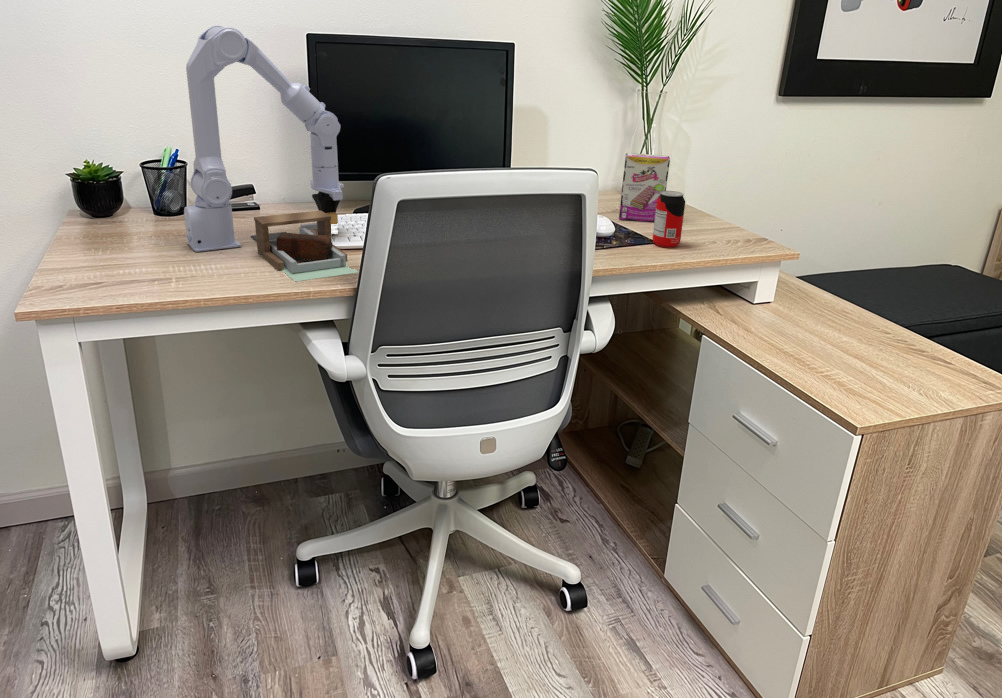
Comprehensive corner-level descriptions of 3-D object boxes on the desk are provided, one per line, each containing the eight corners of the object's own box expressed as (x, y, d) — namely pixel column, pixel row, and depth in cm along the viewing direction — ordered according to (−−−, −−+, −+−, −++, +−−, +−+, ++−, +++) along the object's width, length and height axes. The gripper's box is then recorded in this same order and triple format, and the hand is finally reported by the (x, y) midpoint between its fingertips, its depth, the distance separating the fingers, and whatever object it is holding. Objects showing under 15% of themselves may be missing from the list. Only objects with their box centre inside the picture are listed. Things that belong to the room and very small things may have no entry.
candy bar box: (618, 220, 200) (624, 155, 193) (618, 216, 204) (624, 152, 198) (662, 223, 199) (670, 158, 192) (662, 218, 203) (669, 154, 197)
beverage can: (682, 248, 177) (689, 196, 172) (655, 248, 177) (661, 195, 172) (675, 241, 183) (682, 190, 178) (649, 240, 183) (654, 189, 178)
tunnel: (278, 270, 153) (274, 233, 150) (257, 252, 164) (253, 217, 161) (347, 261, 160) (345, 225, 157) (322, 244, 171) (320, 210, 168)
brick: (277, 259, 158) (275, 237, 156) (281, 254, 161) (280, 232, 160) (330, 262, 158) (329, 239, 156) (333, 256, 162) (332, 234, 160)
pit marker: (258, 243, 170) (258, 242, 170) (250, 236, 174) (250, 235, 174) (294, 239, 174) (294, 238, 174) (285, 232, 178) (285, 231, 178)
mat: (295, 282, 147) (295, 281, 147) (278, 268, 155) (278, 267, 155) (359, 273, 154) (359, 272, 154) (340, 259, 161) (340, 258, 161)
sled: (292, 273, 151) (290, 249, 149) (254, 241, 170) (252, 220, 168) (380, 261, 160) (379, 238, 158) (335, 232, 179) (334, 212, 178)
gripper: (354, 169, 171) (356, 230, 176) (329, 159, 182) (333, 216, 187) (323, 172, 167) (327, 234, 173) (300, 161, 178) (304, 219, 184)
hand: (328, 225), depth 180 cm, fingers closed
